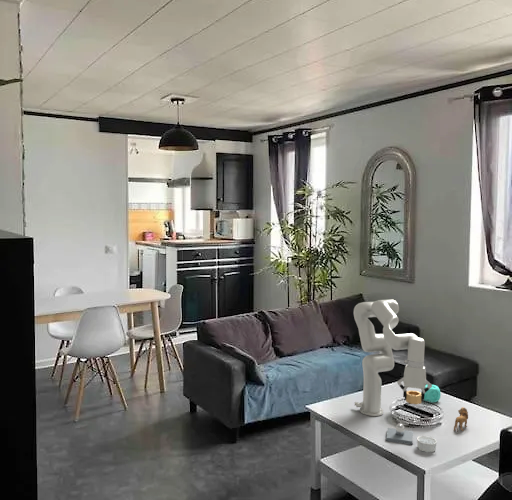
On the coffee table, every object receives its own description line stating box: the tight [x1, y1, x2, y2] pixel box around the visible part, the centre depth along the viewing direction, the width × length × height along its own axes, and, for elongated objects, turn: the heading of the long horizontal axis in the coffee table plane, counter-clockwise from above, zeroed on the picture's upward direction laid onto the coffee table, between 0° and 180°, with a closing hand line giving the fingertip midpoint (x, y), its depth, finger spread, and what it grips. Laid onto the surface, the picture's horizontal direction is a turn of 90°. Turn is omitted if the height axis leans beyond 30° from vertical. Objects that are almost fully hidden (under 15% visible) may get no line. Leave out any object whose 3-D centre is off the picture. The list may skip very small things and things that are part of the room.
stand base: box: [385, 427, 414, 445], centre depth 258 cm, size 12×12×2 cm
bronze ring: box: [405, 390, 422, 405], centre depth 255 cm, size 7×7×4 cm
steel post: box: [395, 422, 405, 436], centre depth 257 cm, size 4×4×5 cm
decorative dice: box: [423, 384, 442, 403], centre depth 308 cm, size 8×8×8 cm
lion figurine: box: [453, 406, 469, 433], centre depth 269 cm, size 15×5×9 cm, turn 149°
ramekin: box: [416, 435, 438, 453], centre depth 246 cm, size 9×9×4 cm
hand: (413, 399), depth 256 cm, fingers closed on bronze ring, 7 cm apart
